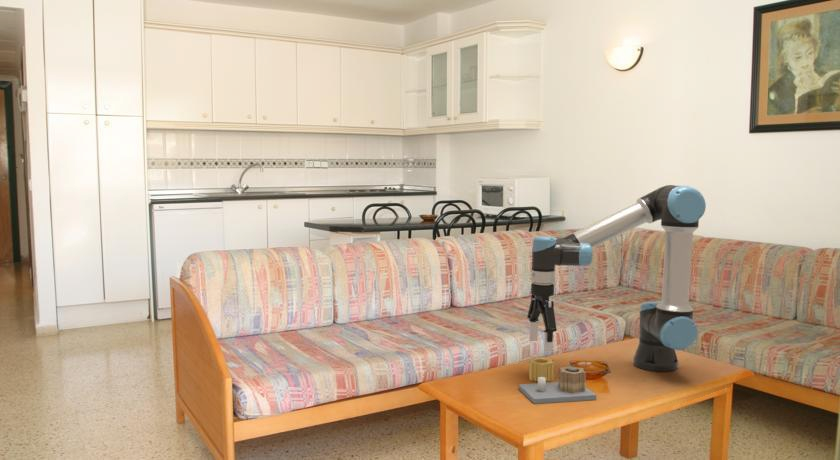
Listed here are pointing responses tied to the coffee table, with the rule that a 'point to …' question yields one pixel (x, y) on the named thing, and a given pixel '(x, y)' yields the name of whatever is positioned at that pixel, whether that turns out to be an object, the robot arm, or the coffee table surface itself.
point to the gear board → (553, 392)
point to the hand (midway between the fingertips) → (540, 346)
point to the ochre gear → (541, 369)
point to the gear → (572, 380)
